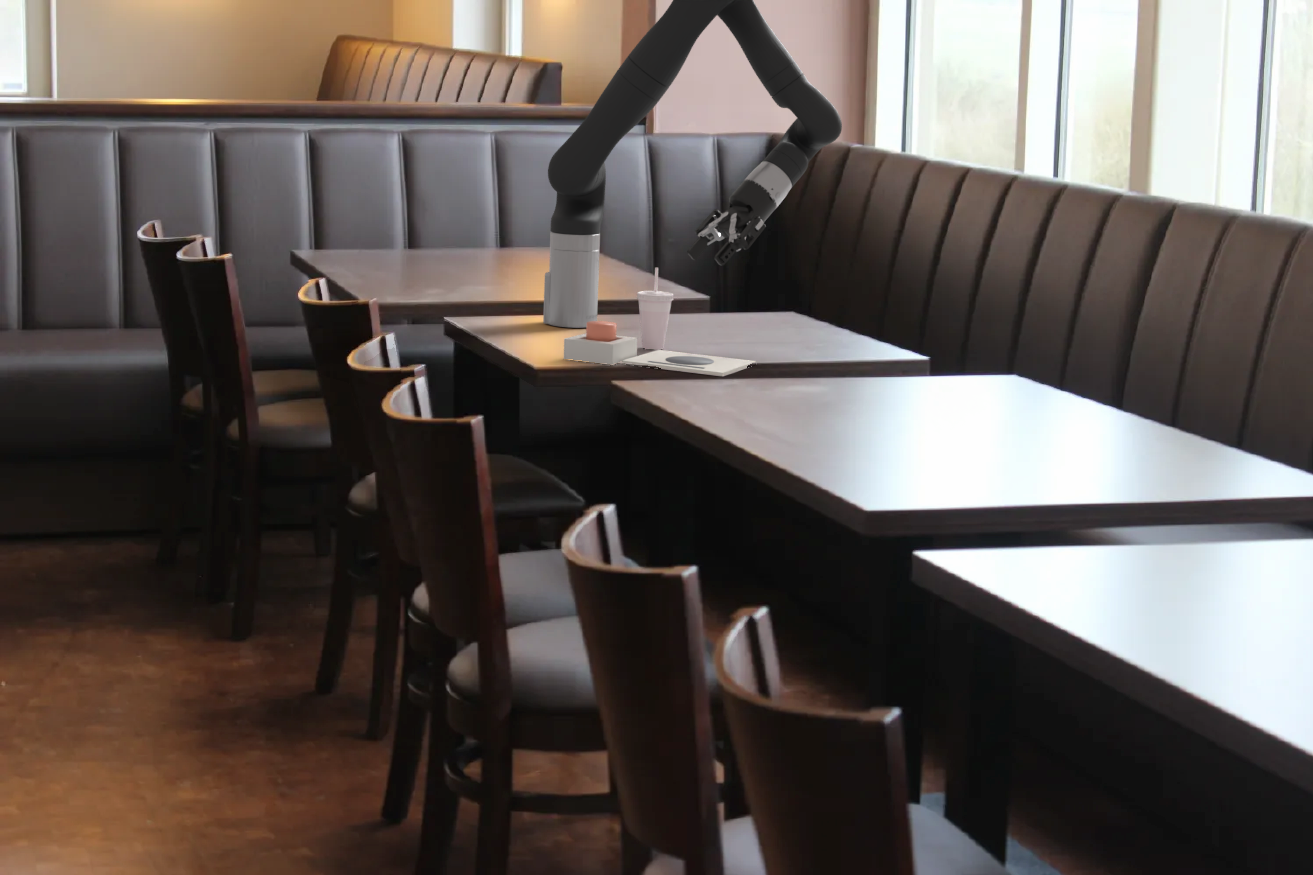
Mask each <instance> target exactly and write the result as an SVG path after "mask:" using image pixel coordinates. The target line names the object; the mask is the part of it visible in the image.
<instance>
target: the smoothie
mask: <svg viewBox="0 0 1313 875" xmlns="http://www.w3.org/2000/svg"><path fill="white" fill-rule="evenodd" d="M658 285H659V267H654V286H653V287H654V288H653V290H643V291H637V292H636V299H637V300H638V310H639V321H640V334H641V337H640V338H641V347H643V348H645V349H644V350H646V349H655V350H654V351H656V350H658V349H663V350H665V349H664V348H665V343H666V336H667V330H668V324H669V318H670V313H671V307H672V301H674V293H672V292H670V291H661V290H658V288H659V287H658ZM643 348H642V349H643Z"/></svg>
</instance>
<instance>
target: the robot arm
mask: <svg viewBox="0 0 1313 875" xmlns="http://www.w3.org/2000/svg"><path fill="white" fill-rule="evenodd" d="M716 17H718V18H719V19H720V20H721V21H722V22H723V23H724V24H725V26H726V27H727V29H729V32H730V33H731V34H732V35H733V37H734V38H735V39H736V42H737V43H738V45H739V47H740V48H741V50H742V52H743V53H744V55H745V57H746V58H747V61H748V63H749V64H750V66H751V68H752V70H753V72H754V73H755V74H756V76H757V78H758V80H759V81H760V83H761V85H763V87H764V88H765V90H766V91H767V92H768V94H769V96H770V97H771V99H772V100H773V101H774V102H775V104H776V106H778V107H780V108H782V109H788V110H790V111H791V112H792V114H793V115H794V116H795V117H796V119H795V120H794V121H793V122H792V123H791V125H790V126H789V127H788V129H787V130H786V131H785V133H784V134H783V136H782V137H781V139H780V140H779V142H778V144H776V146H775V147H774V148H772V150H771V151H770V152H769V153H768V154H767V156H766V157H764V159H763V160H762V162H760V163H759V164H758V165H757V166H756V167H755V168H754V169H753V170H752V171H751V172H750V173H749V174H748V175H747V176H746V178H744V180H743V181H742V183H740V185H739V186H738V187H737V188H736V190H734V191H733V193H732V194H730V196H729V198H728V200H729V201H728V203H729V207H728V208H727V209H726V210H725V211H723V212H721V211H720V210H719V209H718V208H715V209H714V210H713V211H711V213H709V215H708V216H707V217H706V218H705V220H703V221H702V222H701V224H700V225H699V226H697V228H696V229H695V230H694V233H695V234H696V235H697V237H698V238H697V239H696V240H695V241H694V243H692V245H691V246H689V248H688V249H687V251H686V253H687V255H688V256H689V257H690V259H691V260H693V261H696V260H698V259H699V257H700V256H701V255H702V254H703V253H704V252H705V250H706V249H707V248H708V247H709V245H711V244H713V243H714V242H717V241H718V242H721V241H722V240H724V239H725V238H726V239H728V242H727V241H726V242H725V244H724V245H723V246H722V247H721V248H720V249H719V251H718V252H716V254H715V255H714V257H713V259H714V260H715V262H716V263H717V264H718V265H719V266H725V265H726V263H727V262H729V260H730V259H731V258H732V257H733V255H735V253H737V252H740V251H741V250H742V249H743V250H745V251H748V250H749V249H750V248H751V246H752V245H753V244H754V242H756V240H757V238H758V237H759V236H760V235H761V234H762V232H764V230H765V229H766V227H767V226H766V224H765V222H766V220H767V219H768V218H769V217H770V216H771V215H772V214H773V212H774V211H775V210H776V209H777V208H778V207H779V205H781V203H782V202H783V200H784V199H785V198H786V197H787V195H788V194H789V192H790V190H791V189H792V188H793V187H795V185H796V183H797V182H798V181H799V180H800V179H801V177H802V176H803V175H804V174H805V172H806V171H807V169H808V167H809V163H810V161H811V160H812V159H813V157H814V156H815V155H817V153H818V152H819V151H820V150H821V149H823V148H825V147H826V146H828V145H830V144H832V143H833V142H835V141H836V140H837V139H838V138H839V137H840V135H841V133H842V129H843V125H842V124H843V123H842V119H841V116H840V113H839V112H838V109H836V107H835V106H834V104H833V103H832V102H831V100H829V99H828V98H827V97H826V96H825V95H824V93H822V92H821V91H820V90H819V89H818V88H817V87H815V86H814V85H813V84H812V83H811V82H810V81H809V80H808V78H807V76H806V75H805V74H804V72H803V70H802V69H801V68H800V66H799V65H798V63H797V62H796V61H795V59H794V57H793V56H792V54H791V53H790V52H789V51H788V49H787V48H786V47H785V45H784V44H783V43H782V41H781V40H780V39H779V37H778V36H777V35H776V33H775V31H773V29H772V28H771V26H770V25H769V23H768V22H767V21H766V19H765V18H764V16H763V14H762V13H761V11H760V9H759V7H758V6H757V5H756V2H755V0H672V2H671V3H670V5H669V6H668V7H667V9H666V10H665V12H664V13H663V14H662V15H661V17H660V18H659V19H658V20H657V21H656V22H655V23H654V24H653V25H652V27H650V29H649V30H648V31H647V32H646V33H645V34H644V35H643V37H642V38H641V39H640V41H639V42H638V43H637V44H636V46H634V48H633V49H632V50H631V51H630V53H629V54H628V55H627V57H626V58H625V59H624V60H623V62H622V63H621V64H620V66H619V68H618V69H617V70H616V72H615V73H614V75H613V76H612V77H611V79H610V81H609V82H608V84H607V85H606V87H605V88H604V90H603V91H602V93H601V94H600V96H599V98H598V99H597V101H595V104H594V105H593V107H592V109H591V111H589V113H588V115H587V116H586V117H585V118H584V119H583V121H582V122H581V124H579V126H578V127H577V128H576V129H575V131H574V132H573V133H572V134H571V135H570V136H569V138H568V139H566V141H565V142H563V144H562V145H561V146H560V147H559V148H558V149H557V150H556V151H555V152H554V154H552V157H551V158H550V161H549V163H548V167H547V177H548V182H549V183H550V186H551V188H552V189H553V190H554V191H556V200H555V208H554V211H553V214H552V215H551V218H550V235H549V236H550V237H549V238H550V239H549V269H548V270H549V271H547V272H545V274H544V282H543V283H544V287H543V288H544V289H543V290H544V291H543V321H542V322H543V324H545V325H546V324H547V325H550V326H554V327H561V328H577V329H578V328H586V326H587V322H590V321H598V305H599V304H598V303H599V302H598V301H599V300H598V299H599V278H600V272H599V271H600V247H601V246H600V245H601V224H602V222H603V217H604V212H605V197H606V179H607V177H606V176H607V174H606V173H607V171H606V164H605V162H606V160H607V159H608V157H609V155H610V154H611V153H612V151H613V150H614V149H615V147H616V145H618V143H619V142H620V141H621V139H623V137H625V135H627V134H628V133H629V132H630V131H631V130H633V128H635V127H636V126H637V125H638V124H639V123H641V121H642V120H643V119H644V118H645V117H646V116H647V115H649V113H650V112H651V111H652V110H653V109H654V108H655V106H657V104H658V103H659V101H660V100H661V99H662V98H663V96H664V95H665V93H666V92H667V91H668V89H669V88H670V87H671V85H672V84H673V82H674V81H675V80H676V78H677V76H678V74H679V73H680V72H681V69H682V68H683V66H684V64H685V62H686V61H687V58H688V56H689V55H690V53H691V50H692V48H694V45H695V43H696V42H697V40H698V38H699V37H700V35H701V34H702V33H703V32H704V31H705V29H707V27H708V26H709V25H710V24H711V23H712V21H713V20H714V19H715V18H716ZM747 236H748V239H747ZM746 239H747V240H746Z"/></svg>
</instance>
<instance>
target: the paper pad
mask: <svg viewBox="0 0 1313 875" xmlns="http://www.w3.org/2000/svg"><path fill="white" fill-rule="evenodd" d="M622 362H624V363H632V364H640V365H648V366H656V367H659V368H661V369H660V370H666V371H667V370H668V371H675V372H683V373H693V374H699V375H708V376H716V377H725V376H729V375H731V374H735V373H737V372H740V371H742V370H745V369H748V368H747V366H748V365H750V364H752V363H755V362H756V363H757V360H748V359H742V358H741V359H740V358H732V357H724V356H715V355H707V354H705V355H704V354H699V353H689V352H681V351H680V352H679V351H671V350H665V349H663V350H652V351H649V352H645V353H643V354H640V355H637V356H636V357H632V358H629V359H625V360H622Z"/></svg>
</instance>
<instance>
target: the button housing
mask: <svg viewBox="0 0 1313 875" xmlns="http://www.w3.org/2000/svg"><path fill="white" fill-rule="evenodd" d="M636 356H638V337H633V336H626V335H625V336H624V335H617V334H616V340H614V341H611V342H604V341H595V340H587V339H586V332H585V333H581V334H577V335H573V336H570V337H566V338H565V337H564V338H563V360H564V359H573V360H582V361H589V362H595V363H607V364H614V363H618V362H620V361H622V360H625V359H629V358H632V357H636Z"/></svg>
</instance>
